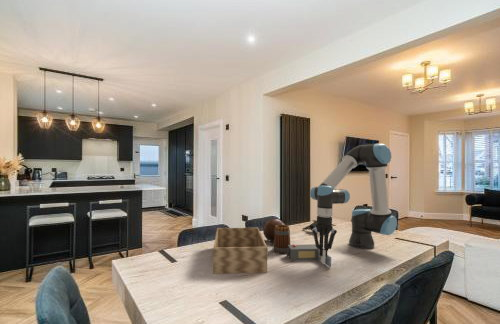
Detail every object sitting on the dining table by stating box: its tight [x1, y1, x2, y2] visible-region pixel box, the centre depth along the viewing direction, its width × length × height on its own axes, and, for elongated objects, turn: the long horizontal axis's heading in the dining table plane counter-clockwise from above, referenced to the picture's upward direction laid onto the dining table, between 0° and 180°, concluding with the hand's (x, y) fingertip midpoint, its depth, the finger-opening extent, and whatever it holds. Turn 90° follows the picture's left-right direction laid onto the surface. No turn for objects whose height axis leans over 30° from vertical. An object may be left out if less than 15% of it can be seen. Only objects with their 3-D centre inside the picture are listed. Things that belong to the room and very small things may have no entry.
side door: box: [317, 249, 332, 268], centre depth 136 cm, size 12×1×6 cm, turn 12°
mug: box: [272, 223, 291, 255], centre depth 159 cm, size 16×11×15 cm
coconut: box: [262, 218, 284, 243], centre depth 176 cm, size 15×15×15 cm
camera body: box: [286, 243, 319, 262], centre depth 146 cm, size 17×8×7 cm, turn 95°
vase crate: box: [212, 227, 268, 275], centre depth 144 cm, size 26×40×12 cm, turn 5°
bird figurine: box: [302, 220, 319, 233], centre depth 201 cm, size 13×10×20 cm
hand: (323, 262), depth 133 cm, fingers closed
